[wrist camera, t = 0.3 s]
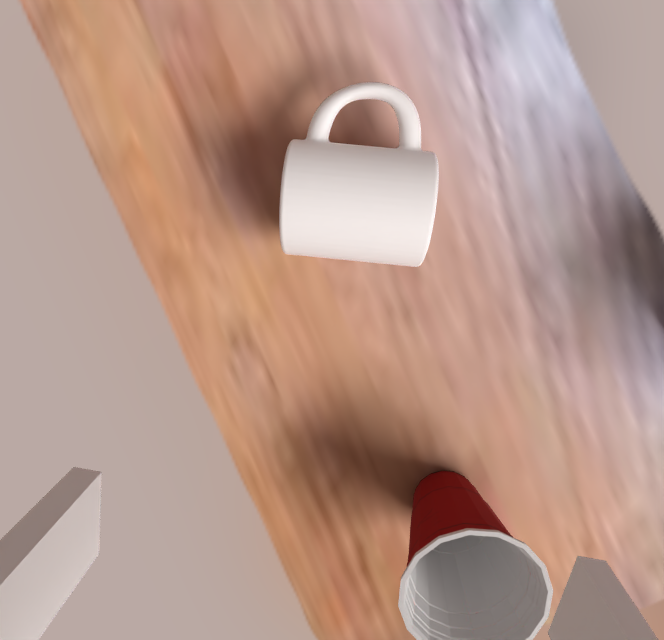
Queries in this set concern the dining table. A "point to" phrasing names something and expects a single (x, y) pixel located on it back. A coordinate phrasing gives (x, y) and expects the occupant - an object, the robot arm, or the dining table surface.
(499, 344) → the dining table surface
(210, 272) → the dining table surface
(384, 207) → the mug
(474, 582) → the plastic cup
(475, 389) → the dining table surface
